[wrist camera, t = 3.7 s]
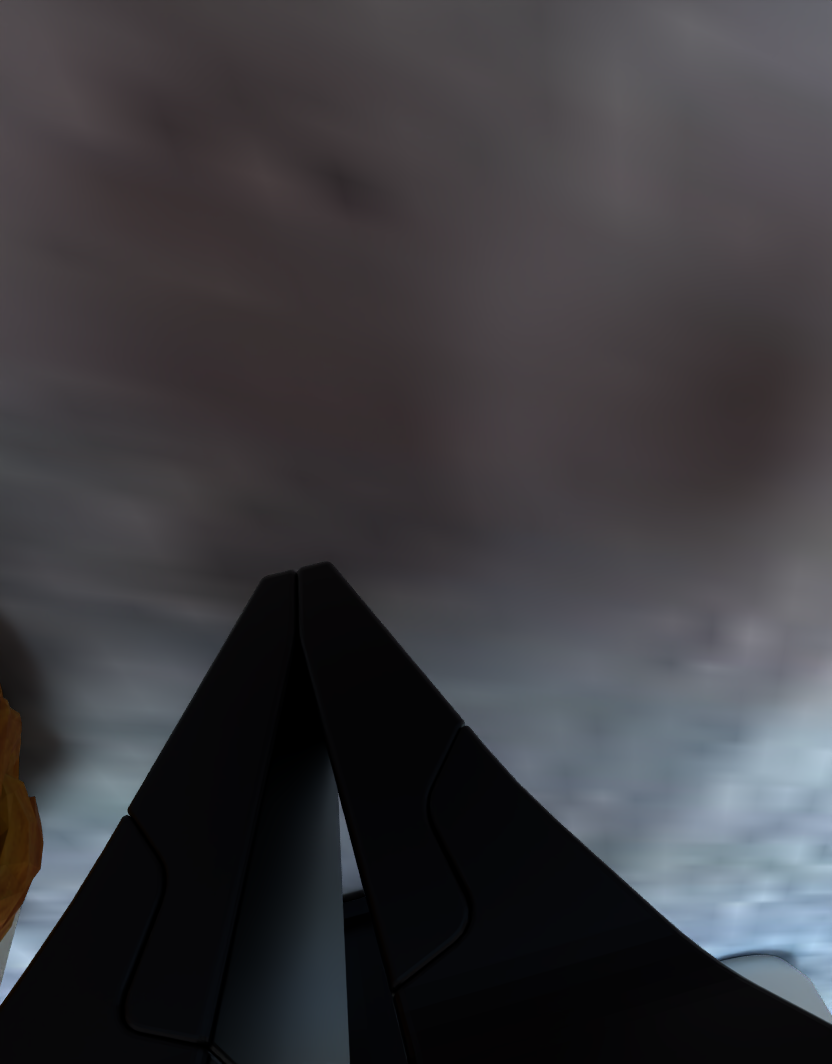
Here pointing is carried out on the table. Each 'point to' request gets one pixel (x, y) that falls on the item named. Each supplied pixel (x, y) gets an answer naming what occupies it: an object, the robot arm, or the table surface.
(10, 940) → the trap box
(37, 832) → the croissant
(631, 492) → the table surface
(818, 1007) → the white bottle
